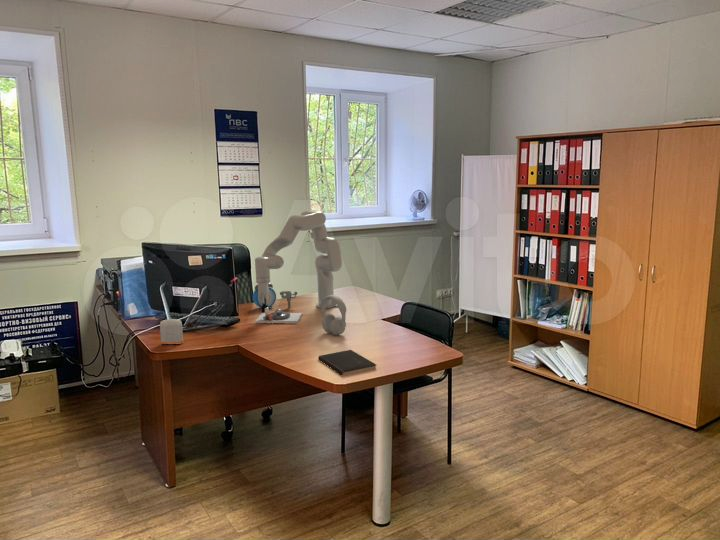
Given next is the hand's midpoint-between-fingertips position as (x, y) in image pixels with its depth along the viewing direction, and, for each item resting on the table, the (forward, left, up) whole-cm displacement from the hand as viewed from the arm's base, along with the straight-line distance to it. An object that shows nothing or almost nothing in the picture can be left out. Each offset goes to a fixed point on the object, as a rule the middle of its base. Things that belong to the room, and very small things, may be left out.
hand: (265, 312), depth 304 cm
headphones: (-40, +27, -5) cm, 49 cm away
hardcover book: (-49, +71, -6) cm, 87 cm away
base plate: (-7, -2, -5) cm, 9 cm away
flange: (-6, -1, -3) cm, 7 cm away
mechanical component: (-8, -29, -5) cm, 31 cm away
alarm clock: (+7, -30, -5) cm, 31 cm away
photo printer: (+37, +41, -5) cm, 55 cm away
